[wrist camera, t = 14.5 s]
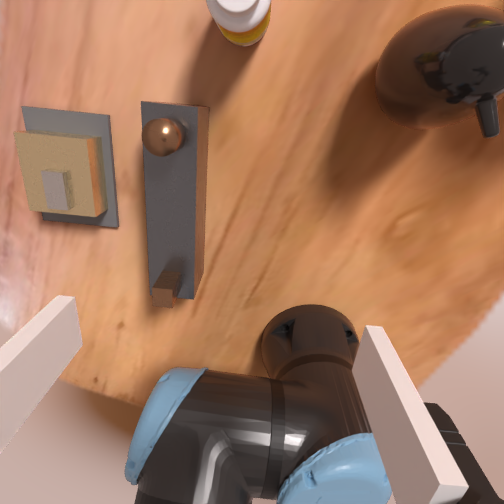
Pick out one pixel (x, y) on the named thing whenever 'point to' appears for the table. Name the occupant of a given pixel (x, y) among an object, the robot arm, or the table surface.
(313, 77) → the table surface
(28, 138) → the lever cap
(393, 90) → the pump dispenser
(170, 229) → the plane body
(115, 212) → the rubber mat
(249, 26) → the supplement bottle
